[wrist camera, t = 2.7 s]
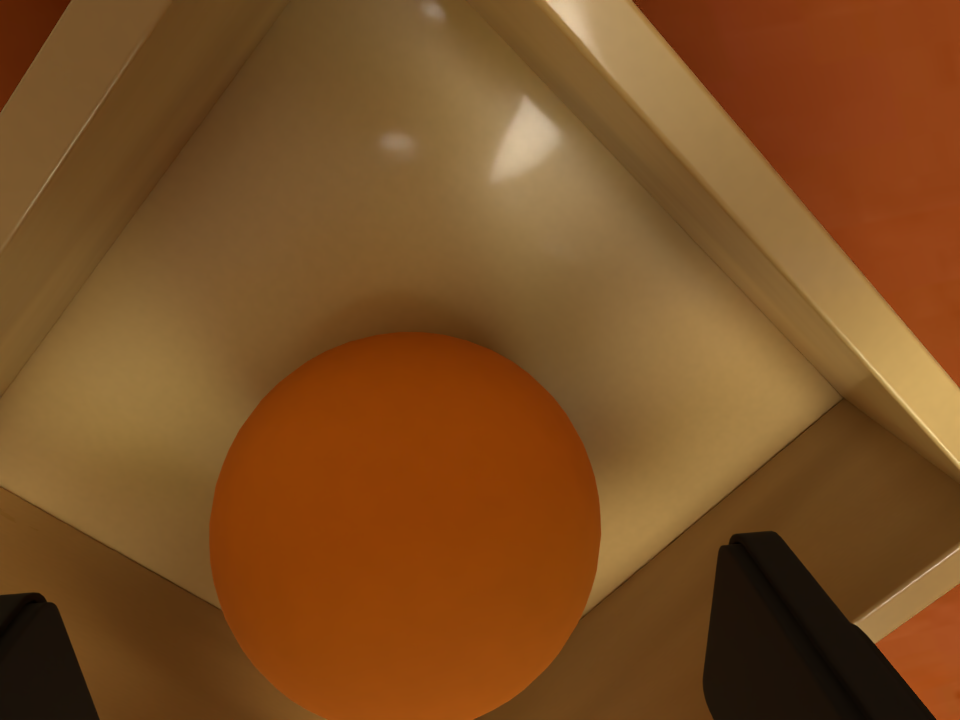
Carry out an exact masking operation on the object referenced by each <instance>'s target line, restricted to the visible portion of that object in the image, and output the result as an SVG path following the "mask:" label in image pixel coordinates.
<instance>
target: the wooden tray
mask: <svg viewBox="0 0 960 720" xmlns="http://www.w3.org/2000/svg"><path fill="white" fill-rule="evenodd" d="M395 332H426V333H434V334H442V335H447V336H451V337H455V338H459V339H463V340H467V341H470V342H472V343H475V344H478V345H480V346H483V347H485V348H488V349H490V350H493V351H494V352H496V353H498V354H500V355H502V356H504V357H505V358H507V359H509V360H511V361H513V362H514V363H515V364H517V365H518V366H519V367H521V368H522V369H524V370H525V371H526V372H528V373H529V374H530V375H531V376H532V377H533V378H534V379H535V380H536V381H538V382H539V383H540V384H541V385H542V386H543V387H544V388H545V389H546V390H547V391H548V392H549V393H550V394H551V395H552V396H553V397H554V398H555V400H556V401H557V402H558V404H559V405H560V406H561V408H562V409H563V410H564V411H565V413H566V414H567V416H568V417H569V419H570V421H571V423H572V424H573V426H574V428H575V430H576V431H577V433H578V435H579V437H580V439H581V440H582V442H583V444H584V447H585V449H586V452H587V455H588V457H589V460H590V463H591V466H592V469H593V473H594V476H595V480H596V485H597V490H598V495H599V502H600V515H601V541H600V549H599V557H598V565H597V572H596V575H595V579H594V583H593V586H592V590H591V593H590V595H589V598H588V601H587V604H586V607H585V609H584V611H583V613H582V615H581V618H580V620H579V622H578V624H577V626H576V627H575V629H574V631H573V632H572V634H571V635H570V637H569V639H568V640H567V642H566V643H565V645H564V646H563V648H562V650H561V651H560V653H559V654H558V655H557V657H556V658H555V659H554V660H553V661H552V663H551V664H550V665H549V666H548V667H547V668H546V669H545V670H544V671H543V672H542V673H541V674H540V675H539V676H538V677H537V678H536V679H535V680H534V681H533V682H532V683H531V684H530V685H529V686H527V687H526V688H525V689H524V690H523V691H522V692H520V693H519V694H518V695H516V696H515V697H514V698H512V699H511V700H510V701H508V702H506V703H505V704H503V705H501V706H499V707H498V708H496V709H494V710H492V711H490V712H488V713H486V714H484V715H482V716H480V717H478V718H475V719H473V720H713V717H712V715H711V713H710V711H709V709H708V706H707V704H706V700H705V697H704V692H703V684H702V682H703V671H704V663H705V655H706V646H707V638H708V630H709V622H710V614H711V606H712V598H713V590H714V582H715V573H716V565H717V557H718V551H719V548H720V547H721V546H722V545H728V544H729V540H730V538H731V536H732V535H734V534H738V533H750V532H762V531H774V532H776V533H777V534H778V535H779V536H781V538H782V539H783V540H784V541H785V543H786V544H787V545H788V546H789V547H790V549H791V550H792V551H793V552H794V554H795V555H796V556H797V557H798V559H799V560H800V561H801V562H802V564H803V565H804V566H805V567H806V569H807V570H808V571H809V572H810V573H811V575H812V576H813V577H814V578H815V580H816V581H817V582H818V583H819V585H820V586H821V587H822V588H823V590H824V591H825V592H826V593H827V595H828V596H829V597H830V598H831V600H832V601H833V602H834V603H835V604H836V606H837V607H838V608H839V609H840V611H841V612H842V613H843V614H844V616H845V617H846V618H847V619H848V621H849V622H851V623H853V624H855V625H856V626H858V627H859V628H860V629H861V630H862V631H863V632H864V633H865V634H866V635H867V636H868V637H869V638H870V639H871V640H872V642H873V643H874V644H876V643H877V642H878V641H880V640H881V639H883V638H884V637H885V636H887V635H888V634H890V633H891V632H892V631H894V630H895V629H897V628H898V627H899V626H901V625H902V624H904V623H905V622H906V621H908V620H909V619H910V618H912V617H913V616H915V615H916V614H917V613H919V612H920V611H922V610H923V609H924V608H926V607H927V606H929V605H930V604H931V603H933V602H934V601H936V600H937V599H938V598H940V597H941V596H943V595H944V594H945V593H947V592H948V591H950V590H951V589H952V588H954V587H955V586H957V585H958V584H959V583H960V388H959V387H958V386H957V384H956V383H955V382H954V381H953V380H952V379H951V377H950V376H949V375H948V374H947V373H946V371H945V370H944V369H943V368H942V367H941V365H940V364H939V363H938V362H937V361H936V360H935V358H934V357H933V356H932V355H931V354H930V352H929V351H928V350H927V349H926V348H925V347H924V345H923V344H922V343H921V342H920V341H919V339H918V338H917V337H916V336H915V335H914V334H913V332H912V331H911V330H910V329H909V328H908V326H907V325H906V324H905V323H904V322H903V321H902V319H901V318H900V317H899V316H898V315H897V313H896V312H895V311H894V310H893V309H892V307H891V306H890V305H889V304H888V303H887V302H886V300H885V299H884V298H883V297H882V296H881V294H880V293H879V292H878V291H877V290H876V289H875V287H874V286H873V285H872V284H871V283H870V281H869V280H868V279H867V278H866V277H865V276H864V274H863V273H862V272H861V271H860V270H859V268H858V267H857V266H856V265H855V264H854V262H853V261H852V260H851V259H850V258H849V257H848V255H847V254H846V253H845V252H844V251H843V249H842V248H841V247H840V246H839V245H838V244H837V242H836V241H835V240H834V239H833V238H832V236H831V235H830V234H829V233H828V232H827V231H826V229H825V228H824V227H823V226H822V225H821V223H820V222H819V221H818V220H817V219H816V218H815V216H814V215H813V214H812V213H811V212H810V210H809V209H808V208H807V207H806V206H805V204H804V203H803V202H802V201H801V200H800V199H799V197H798V196H797V195H796V194H795V193H794V191H793V190H792V189H791V188H790V187H789V186H788V184H787V183H786V182H785V181H784V180H783V178H782V177H781V176H780V175H779V174H778V173H777V171H776V170H775V169H774V168H773V167H772V165H771V164H770V163H769V162H768V161H767V159H766V158H765V157H764V156H763V155H762V154H761V152H760V151H759V150H758V149H757V148H756V146H755V145H754V144H753V143H752V142H751V141H750V139H749V138H748V137H747V136H746V135H745V133H744V132H743V131H742V130H741V129H740V128H739V126H738V125H737V124H736V123H735V122H734V120H733V119H732V118H731V117H730V116H729V115H728V113H727V112H726V111H725V110H724V109H723V107H722V106H721V105H720V104H719V103H718V101H717V100H716V99H715V98H714V97H713V96H712V94H711V93H710V92H709V91H708V90H707V88H706V87H705V86H704V85H703V84H702V83H701V81H700V80H699V79H698V78H697V77H696V75H695V74H694V73H693V72H692V71H691V70H690V68H689V67H688V66H687V65H686V64H685V62H684V61H683V60H682V59H681V58H680V56H679V55H678V54H677V53H676V52H675V51H674V49H673V48H672V47H671V46H670V45H669V43H668V42H667V41H666V40H665V39H664V38H663V36H662V35H661V34H660V33H659V32H658V30H657V29H656V28H655V27H654V26H653V25H652V23H651V22H650V21H649V20H648V19H647V17H646V16H645V15H644V14H643V13H642V12H641V10H640V9H639V8H638V7H637V6H636V4H635V3H634V2H633V1H632V0H71V2H70V3H69V5H68V6H67V8H66V10H65V11H64V13H63V14H62V16H61V18H60V19H59V21H58V22H57V24H56V26H55V27H54V29H53V30H52V32H51V33H50V35H49V37H48V38H47V40H46V41H45V43H44V45H43V46H42V48H41V49H40V51H39V53H38V54H37V56H36V57H35V59H34V60H33V62H32V64H31V65H30V67H29V68H28V70H27V72H26V73H25V75H24V76H23V78H22V79H21V81H20V83H19V84H18V86H17V87H16V89H15V91H14V92H13V94H12V95H11V97H10V99H9V100H8V102H7V103H6V105H5V106H4V108H3V110H2V111H1V113H0V595H6V594H18V593H30V592H36V593H40V594H41V595H43V596H44V597H45V599H46V601H47V602H53V603H54V604H55V605H56V606H57V608H58V609H59V612H60V615H61V617H62V620H63V623H64V625H65V628H66V631H67V633H68V636H69V639H70V641H71V644H72V647H73V649H74V652H75V655H76V657H77V660H78V663H79V665H80V668H81V671H82V673H83V676H84V679H85V681H86V684H87V687H88V689H89V692H90V695H91V697H92V700H93V703H94V705H95V708H96V711H97V713H98V716H99V719H100V720H327V719H325V718H323V717H321V716H319V715H316V714H314V713H312V712H310V711H308V710H306V709H305V708H303V707H301V706H300V705H298V704H296V703H295V702H293V701H291V700H290V699H289V698H288V697H286V696H285V695H284V694H283V693H281V692H280V691H279V690H277V689H276V688H275V687H274V686H273V685H272V684H271V683H270V682H269V681H268V680H267V679H266V678H265V677H264V676H263V675H262V674H261V673H260V672H259V671H258V669H257V668H256V667H255V666H254V665H253V664H252V662H251V661H250V660H249V658H248V657H247V656H246V654H245V653H244V652H243V650H242V648H241V647H240V645H239V643H238V642H237V640H236V638H235V636H234V634H233V633H232V631H231V629H230V627H229V625H228V623H227V621H226V620H225V617H224V614H223V611H222V608H221V605H220V602H219V599H218V596H217V592H216V589H215V586H214V581H213V576H212V570H211V564H210V548H209V523H210V517H211V511H212V505H213V498H214V492H215V486H216V483H217V480H218V477H219V474H220V471H221V468H222V465H223V463H224V460H225V458H226V455H227V453H228V451H229V448H230V447H231V445H232V443H233V441H234V439H235V437H236V435H237V433H238V432H239V430H240V428H241V427H242V425H243V424H244V423H245V421H246V420H247V419H248V417H249V416H250V415H251V413H252V412H253V411H254V409H255V408H256V407H257V405H258V404H259V403H260V401H261V400H262V399H263V398H264V397H265V396H266V395H267V394H268V393H269V392H270V391H271V390H272V389H273V388H274V387H275V386H276V385H277V384H278V383H279V382H280V381H282V380H283V379H284V378H285V377H287V376H288V375H289V374H291V373H292V372H293V371H295V370H296V369H297V368H299V367H300V366H301V365H303V364H304V363H305V362H307V361H309V360H311V359H312V358H314V357H316V356H318V355H320V354H321V353H323V352H325V351H327V350H330V349H332V348H335V347H337V346H340V345H342V344H345V343H347V342H350V341H354V340H358V339H362V338H366V337H370V336H374V335H379V334H387V333H395Z"/></svg>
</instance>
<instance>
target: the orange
mask: <svg viewBox="0 0 960 720" xmlns="http://www.w3.org/2000/svg"><path fill="white" fill-rule="evenodd" d="M600 541H601V515H600V502H599V495H598V490H597V485H596V480H595V476H594V473H593V469H592V466H591V463H590V460H589V457H588V455H587V452H586V449H585V447H584V444H583V442H582V440H581V439H580V437H579V435H578V433H577V431H576V430H575V428H574V426H573V424H572V423H571V421H570V419H569V417H568V416H567V414H566V413H565V411H564V410H563V409H562V408H561V406H560V405H559V404H558V402H557V401H556V400H555V398H554V397H553V396H552V395H551V394H550V393H549V392H548V391H547V390H546V389H545V388H544V387H543V386H542V385H541V384H540V383H539V382H538V381H536V380H535V379H534V378H533V377H532V376H531V375H530V374H529V373H528V372H526V371H525V370H524V369H522V368H521V367H519V366H518V365H517V364H515V363H514V362H513V361H511V360H509V359H507V358H505V357H504V356H502V355H500V354H498V353H496V352H494V351H493V350H490V349H488V348H485V347H483V346H480V345H478V344H475V343H472V342H470V341H467V340H463V339H459V338H455V337H451V336H447V335H442V334H434V333H426V332H395V333H387V334H379V335H374V336H370V337H366V338H362V339H358V340H354V341H350V342H347V343H345V344H342V345H340V346H337V347H335V348H332V349H330V350H327V351H325V352H323V353H321V354H320V355H318V356H316V357H314V358H312V359H311V360H309V361H307V362H305V363H304V364H303V365H301V366H300V367H299V368H297V369H296V370H295V371H293V372H292V373H291V374H289V375H288V376H287V377H285V378H284V379H283V380H282V381H280V382H279V383H278V384H277V385H276V386H275V387H274V388H273V389H272V390H271V391H270V392H269V393H268V394H267V395H266V396H265V397H264V398H263V399H262V400H261V401H260V403H259V404H258V405H257V407H256V408H255V409H254V411H253V412H252V413H251V415H250V416H249V417H248V419H247V420H246V421H245V423H244V424H243V425H242V427H241V428H240V430H239V432H238V433H237V435H236V437H235V439H234V441H233V443H232V445H231V447H230V448H229V451H228V453H227V455H226V458H225V460H224V463H223V465H222V468H221V471H220V474H219V477H218V480H217V483H216V486H215V492H214V498H213V505H212V511H211V517H210V523H209V548H210V564H211V570H212V576H213V581H214V586H215V589H216V592H217V596H218V599H219V602H220V605H221V608H222V611H223V614H224V617H225V620H226V621H227V623H228V625H229V627H230V629H231V631H232V633H233V634H234V636H235V638H236V640H237V642H238V643H239V645H240V647H241V648H242V650H243V652H244V653H245V654H246V656H247V657H248V658H249V660H250V661H251V662H252V664H253V665H254V666H255V667H256V668H257V669H258V671H259V672H260V673H261V674H262V675H263V676H264V677H265V678H266V679H267V680H268V681H269V682H270V683H271V684H272V685H273V686H274V687H275V688H276V689H277V690H279V691H280V692H281V693H283V694H284V695H285V696H286V697H288V698H289V699H290V700H291V701H293V702H295V703H296V704H298V705H300V706H301V707H303V708H305V709H306V710H308V711H310V712H312V713H314V714H316V715H319V716H321V717H323V718H325V719H327V720H473V719H475V718H478V717H480V716H482V715H484V714H486V713H488V712H490V711H492V710H494V709H496V708H498V707H499V706H501V705H503V704H505V703H506V702H508V701H510V700H511V699H512V698H514V697H515V696H516V695H518V694H519V693H520V692H522V691H523V690H524V689H525V688H526V687H527V686H529V685H530V684H531V683H532V682H533V681H534V680H535V679H536V678H537V677H538V676H539V675H540V674H541V673H542V672H543V671H544V670H545V669H546V668H547V667H548V666H549V665H550V664H551V663H552V661H553V660H554V659H555V658H556V657H557V655H558V654H559V653H560V651H561V650H562V648H563V646H564V645H565V643H566V642H567V640H568V639H569V637H570V635H571V634H572V632H573V631H574V629H575V627H576V626H577V624H578V622H579V620H580V618H581V615H582V613H583V611H584V609H585V607H586V604H587V601H588V598H589V595H590V593H591V590H592V586H593V583H594V579H595V575H596V572H597V565H598V557H599V549H600Z"/></svg>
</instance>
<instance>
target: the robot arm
mask: <svg viewBox="0 0 960 720" xmlns="http://www.w3.org/2000/svg"><path fill="white" fill-rule="evenodd" d="M702 684H703V692H704V697H705V700H706V704H707V706H708V709H709V711H710V713H711V715H712V717H713V720H936V718H935V717H934V716H933V715H932V714H931V712H930V711H929V710H928V709H927V707H926V706H925V705H924V704H923V703H922V701H921V700H920V699H919V698H918V696H917V695H916V694H915V693H914V692H913V690H912V689H911V688H910V687H909V685H908V684H907V683H906V682H905V681H904V679H903V678H902V677H901V676H900V674H899V673H898V672H897V671H896V670H895V668H894V667H893V666H892V665H891V664H890V662H889V661H888V660H887V659H886V657H885V656H884V655H883V654H882V653H881V651H880V650H879V649H878V648H877V646H876V645H875V644H874V643H873V642H872V640H871V639H870V638H869V637H868V636H867V635H866V634H865V633H864V632H863V631H862V630H861V629H860V628H859V627H858V626H856V625H855V624H853V623H851V622H849V621H848V619H847V618H846V617H845V616H844V614H843V613H842V612H841V611H840V609H839V608H838V607H837V606H836V604H835V603H834V602H833V601H832V600H831V598H830V597H829V596H828V595H827V593H826V592H825V591H824V590H823V588H822V587H821V586H820V585H819V583H818V582H817V581H816V580H815V578H814V577H813V576H812V575H811V573H810V572H809V571H808V570H807V569H806V567H805V566H804V565H803V564H802V562H801V561H800V560H799V559H798V557H797V556H796V555H795V554H794V552H793V551H792V550H791V549H790V547H789V546H788V545H787V544H786V543H785V541H784V540H783V539H782V538H781V536H779V535H778V534H777V533H776V532H774V531H762V532H750V533H738V534H734V535H732V536H731V538H730V540H729V544H728V545H722V546H721V547H720V548H719V551H718V557H717V565H716V573H715V582H714V590H713V598H712V606H711V614H710V622H709V630H708V638H707V646H706V655H705V663H704V671H703V682H702ZM0 720H100V719H99V716H98V713H97V711H96V708H95V705H94V703H93V700H92V697H91V695H90V692H89V689H88V687H87V684H86V681H85V679H84V676H83V673H82V671H81V668H80V665H79V663H78V660H77V657H76V655H75V652H74V649H73V647H72V644H71V641H70V639H69V636H68V633H67V631H66V628H65V625H64V623H63V620H62V617H61V615H60V612H59V609H58V608H57V606H56V605H55V604H54V603H53V602H47V601H46V599H45V597H44V596H43V595H41V594H40V593H36V592H30V593H18V594H6V595H0Z"/></svg>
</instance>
